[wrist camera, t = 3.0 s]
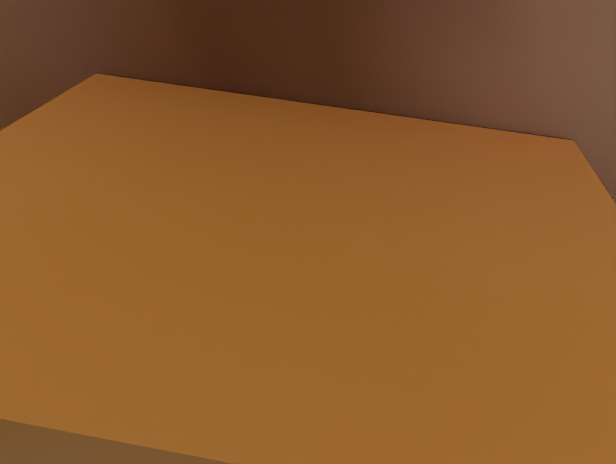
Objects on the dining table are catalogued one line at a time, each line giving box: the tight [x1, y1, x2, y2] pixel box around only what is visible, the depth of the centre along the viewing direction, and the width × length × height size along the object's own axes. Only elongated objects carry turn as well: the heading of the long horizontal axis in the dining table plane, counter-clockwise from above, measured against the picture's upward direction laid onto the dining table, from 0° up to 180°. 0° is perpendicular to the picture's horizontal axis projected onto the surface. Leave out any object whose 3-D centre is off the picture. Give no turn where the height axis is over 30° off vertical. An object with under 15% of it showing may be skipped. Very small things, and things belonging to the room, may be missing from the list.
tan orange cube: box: [0, 74, 616, 464], centre depth 8 cm, size 7×7×6 cm
